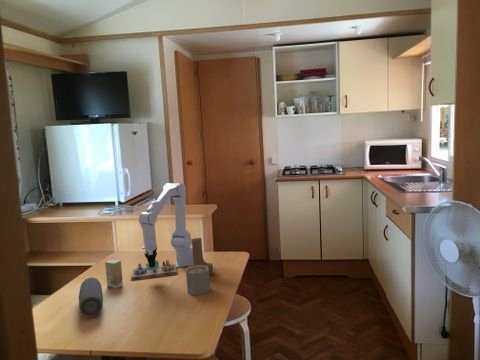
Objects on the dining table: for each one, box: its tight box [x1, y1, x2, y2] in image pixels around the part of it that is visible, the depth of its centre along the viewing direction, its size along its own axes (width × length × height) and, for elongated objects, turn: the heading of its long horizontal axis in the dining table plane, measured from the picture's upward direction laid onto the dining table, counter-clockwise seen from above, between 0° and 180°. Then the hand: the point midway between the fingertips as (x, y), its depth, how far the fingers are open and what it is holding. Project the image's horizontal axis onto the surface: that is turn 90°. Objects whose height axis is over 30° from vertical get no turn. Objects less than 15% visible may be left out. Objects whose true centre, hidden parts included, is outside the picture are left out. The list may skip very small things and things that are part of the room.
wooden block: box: [191, 237, 214, 276], centre depth 195 cm, size 9×4×18 cm, turn 95°
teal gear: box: [145, 259, 160, 270], centre depth 190 cm, size 6×6×3 cm
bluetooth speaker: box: [78, 277, 104, 318], centre depth 166 cm, size 23×9×10 cm, turn 21°
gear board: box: [130, 259, 178, 281], centre depth 202 cm, size 22×11×6 cm, turn 101°
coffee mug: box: [185, 265, 211, 296], centre depth 178 cm, size 13×10×10 cm
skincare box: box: [104, 258, 124, 289], centre depth 189 cm, size 6×4×12 cm
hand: (152, 265), depth 190 cm, fingers closed on teal gear, 6 cm apart
